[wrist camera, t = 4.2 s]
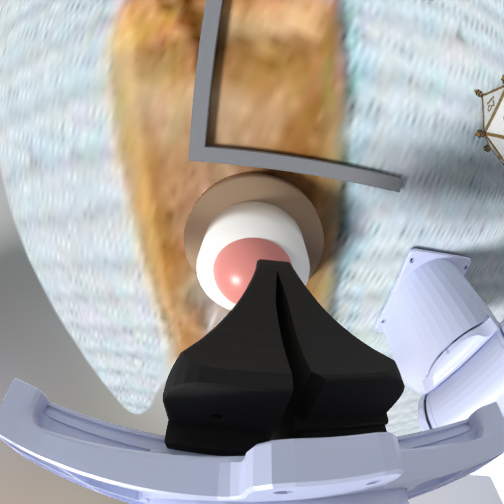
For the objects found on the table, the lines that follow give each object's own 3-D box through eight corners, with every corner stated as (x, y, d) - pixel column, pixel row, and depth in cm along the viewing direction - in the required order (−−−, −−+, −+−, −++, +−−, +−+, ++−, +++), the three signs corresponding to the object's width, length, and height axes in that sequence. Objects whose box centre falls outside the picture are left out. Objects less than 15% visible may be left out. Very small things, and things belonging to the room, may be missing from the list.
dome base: (305, 295, 25) (307, 306, 23) (188, 282, 24) (184, 293, 23) (333, 183, 20) (338, 190, 18) (190, 165, 19) (185, 171, 18)
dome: (293, 292, 22) (299, 339, 18) (202, 282, 22) (190, 328, 18) (312, 208, 19) (328, 246, 15) (206, 195, 19) (190, 230, 14)
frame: (396, 189, 19) (399, 192, 19) (190, 158, 19) (188, 160, 18) (426, -11, 11) (430, -12, 10) (219, -59, 10) (218, -62, 10)
